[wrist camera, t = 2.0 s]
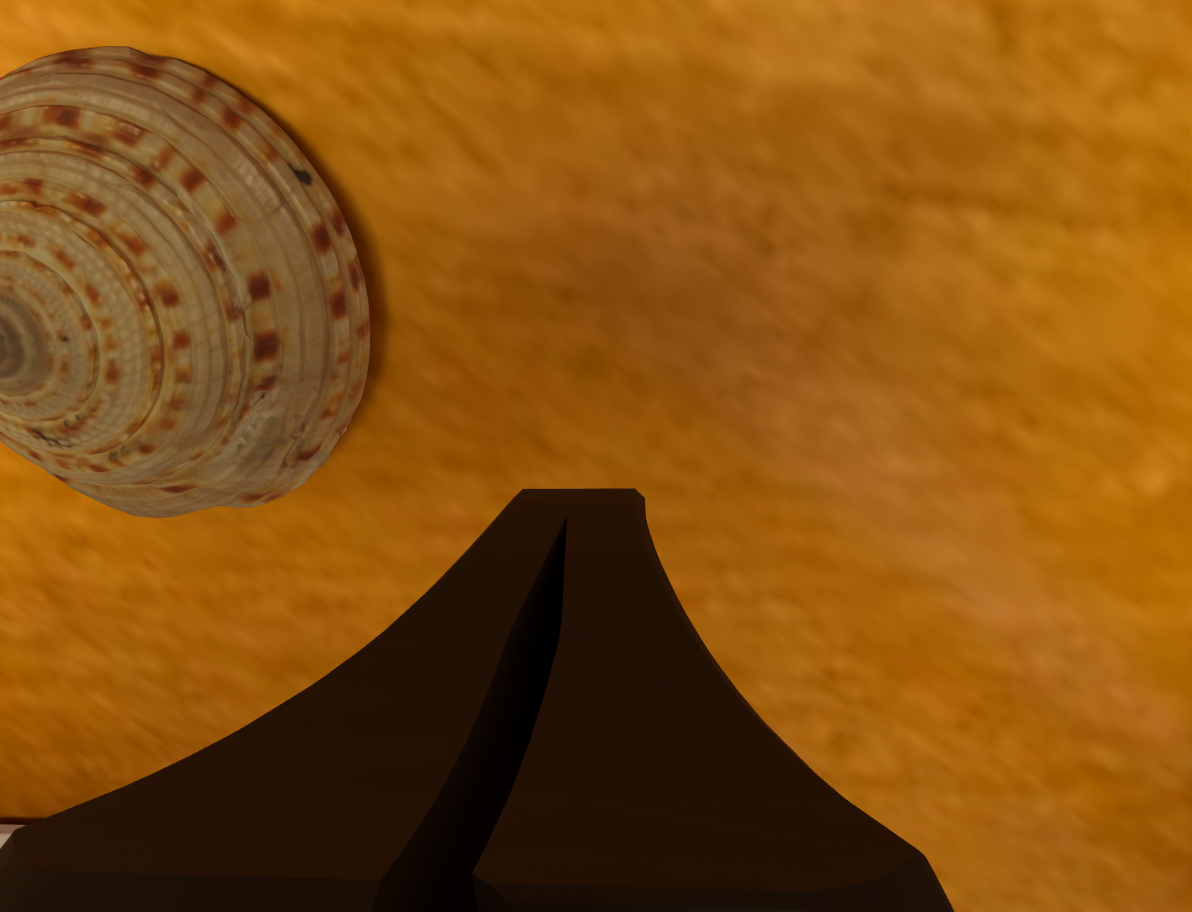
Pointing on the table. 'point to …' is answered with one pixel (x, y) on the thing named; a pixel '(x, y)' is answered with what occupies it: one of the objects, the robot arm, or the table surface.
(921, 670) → the table surface
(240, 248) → the seashell
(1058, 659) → the table surface
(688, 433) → the table surface
